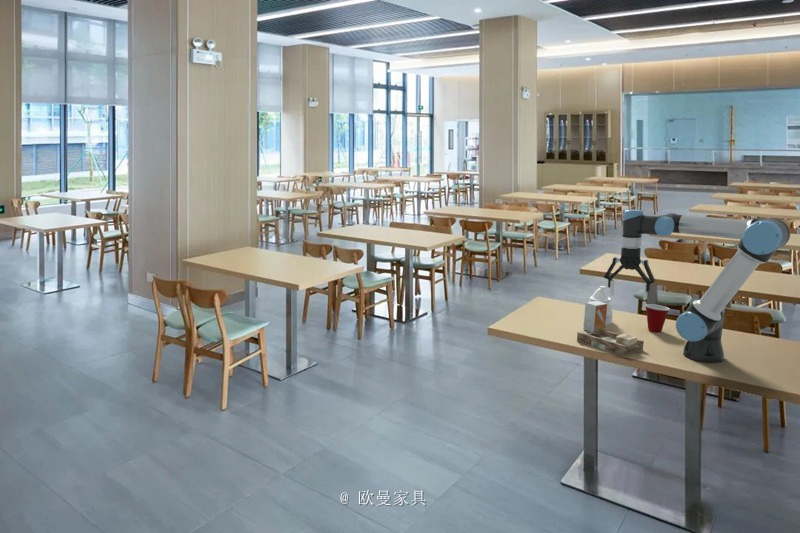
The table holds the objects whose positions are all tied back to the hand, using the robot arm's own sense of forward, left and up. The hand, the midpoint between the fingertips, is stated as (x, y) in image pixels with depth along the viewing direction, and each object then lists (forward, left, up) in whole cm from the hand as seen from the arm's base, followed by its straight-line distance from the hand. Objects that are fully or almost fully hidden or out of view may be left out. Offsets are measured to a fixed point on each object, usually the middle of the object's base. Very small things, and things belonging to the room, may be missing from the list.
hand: (628, 297), depth 268 cm
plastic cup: (+6, -35, -23) cm, 42 cm away
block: (-3, +2, -20) cm, 21 cm away
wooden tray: (+5, +2, -22) cm, 23 cm away
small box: (+23, -12, -23) cm, 35 cm away
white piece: (+31, -26, -23) cm, 47 cm away
